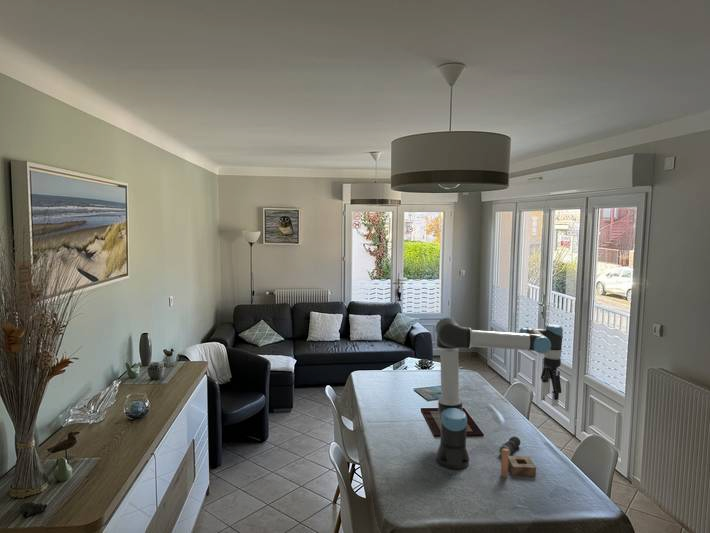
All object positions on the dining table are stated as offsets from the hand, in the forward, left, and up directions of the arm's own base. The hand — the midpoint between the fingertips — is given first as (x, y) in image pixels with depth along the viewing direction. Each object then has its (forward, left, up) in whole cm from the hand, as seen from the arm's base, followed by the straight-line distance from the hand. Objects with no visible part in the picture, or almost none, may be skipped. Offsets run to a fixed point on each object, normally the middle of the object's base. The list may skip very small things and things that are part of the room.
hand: (549, 400), depth 228 cm
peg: (-26, -23, -27) cm, 44 cm away
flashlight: (-17, +1, -27) cm, 32 cm away
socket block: (-17, -17, -27) cm, 36 cm away
